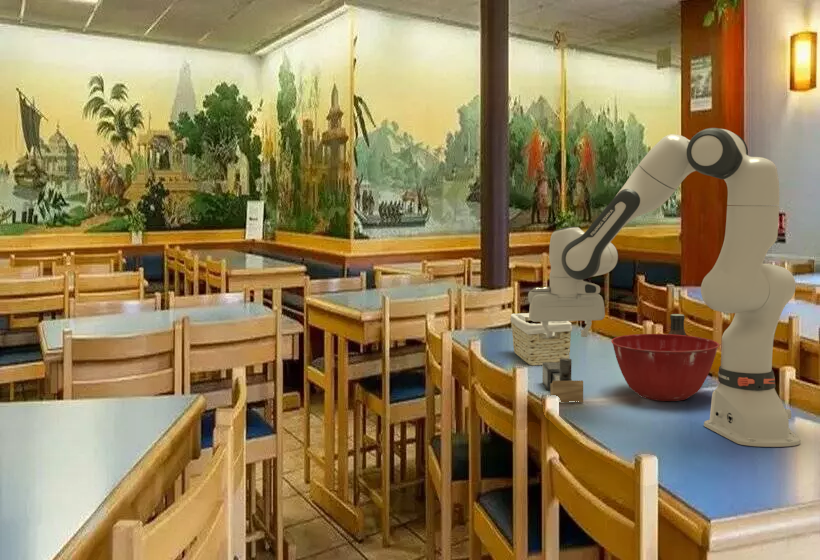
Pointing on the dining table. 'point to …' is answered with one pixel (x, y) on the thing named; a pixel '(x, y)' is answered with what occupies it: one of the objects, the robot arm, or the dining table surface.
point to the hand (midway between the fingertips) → (566, 337)
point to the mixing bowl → (664, 364)
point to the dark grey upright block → (563, 371)
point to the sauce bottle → (677, 324)
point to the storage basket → (540, 340)
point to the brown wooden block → (567, 390)
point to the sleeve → (549, 372)
